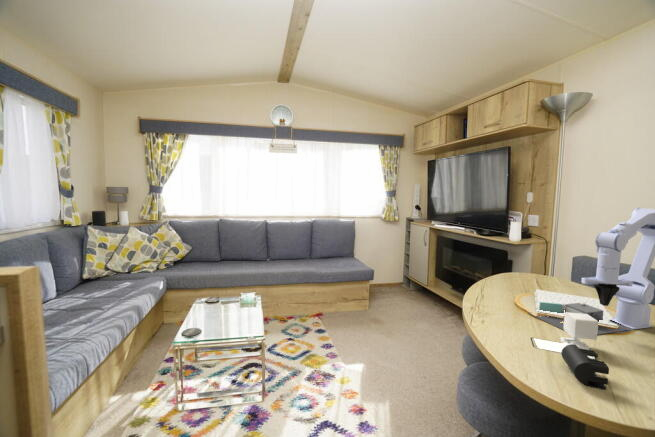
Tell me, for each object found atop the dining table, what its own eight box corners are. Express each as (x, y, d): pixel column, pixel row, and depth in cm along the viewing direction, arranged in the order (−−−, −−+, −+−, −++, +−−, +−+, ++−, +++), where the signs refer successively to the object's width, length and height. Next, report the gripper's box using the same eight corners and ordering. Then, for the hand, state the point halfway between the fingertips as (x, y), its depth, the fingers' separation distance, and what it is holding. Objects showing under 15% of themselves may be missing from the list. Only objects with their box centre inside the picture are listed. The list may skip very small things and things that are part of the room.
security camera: (595, 352, 95) (598, 321, 94) (569, 349, 96) (572, 319, 95) (583, 342, 101) (586, 313, 100) (559, 339, 103) (561, 311, 101)
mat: (574, 308, 129) (574, 307, 129) (631, 330, 110) (631, 329, 109) (527, 313, 123) (527, 312, 123) (578, 337, 104) (578, 336, 104)
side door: (564, 316, 120) (565, 304, 119) (539, 314, 122) (540, 302, 121) (562, 314, 121) (563, 303, 121) (537, 312, 124) (538, 300, 123)
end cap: (559, 364, 89) (562, 342, 88) (590, 369, 86) (592, 346, 85) (573, 385, 79) (575, 360, 79) (607, 391, 77) (610, 366, 76)
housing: (580, 314, 122) (581, 301, 121) (605, 325, 113) (607, 310, 112) (563, 316, 120) (565, 302, 119) (588, 327, 111) (590, 312, 111)
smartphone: (533, 349, 97) (597, 362, 90) (533, 347, 97) (598, 360, 90) (529, 338, 104) (589, 349, 97) (529, 336, 104) (589, 347, 97)
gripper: (622, 264, 109) (618, 301, 110) (577, 263, 111) (573, 299, 113) (639, 270, 102) (634, 309, 103) (590, 268, 104) (586, 306, 106)
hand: (604, 304), depth 108 cm, fingers closed
